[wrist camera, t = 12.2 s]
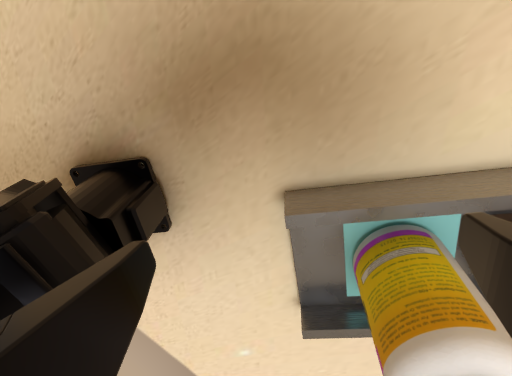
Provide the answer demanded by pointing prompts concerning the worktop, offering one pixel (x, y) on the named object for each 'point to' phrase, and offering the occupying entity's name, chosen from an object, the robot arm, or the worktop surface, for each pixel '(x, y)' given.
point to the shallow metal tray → (368, 221)
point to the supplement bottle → (426, 308)
